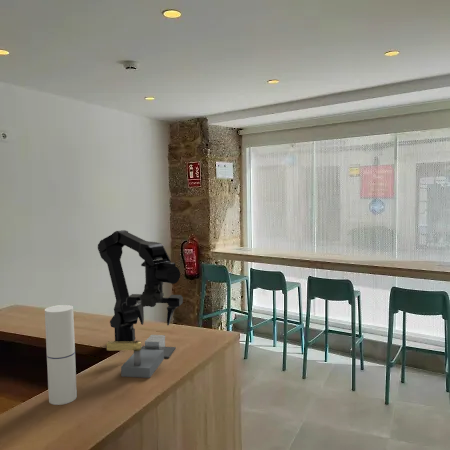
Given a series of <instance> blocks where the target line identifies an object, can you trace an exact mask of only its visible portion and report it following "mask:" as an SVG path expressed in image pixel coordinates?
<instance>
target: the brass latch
mask: <svg viewBox="0 0 450 450" xmlns="http://www.w3.org/2000/svg"><path fill="white" fill-rule="evenodd" d="M141 348H142V341H141V340H134V341H115V340H112V341H111V340H110V341H107V342H106V351H133V352H134V351H139V350H141Z"/></svg>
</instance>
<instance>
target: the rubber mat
mask: <svg viewBox="0 0 450 450" xmlns="http://www.w3.org/2000/svg"><path fill="white" fill-rule="evenodd" d="M141 349H145V345H141ZM175 351H176V346H165V349H164V359H170V357H171V356H172V354H173V353H174V352H175Z"/></svg>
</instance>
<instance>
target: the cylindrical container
mask: <svg viewBox="0 0 450 450" xmlns="http://www.w3.org/2000/svg"><path fill="white" fill-rule="evenodd" d="M74 316H75V315H74V306H73V305H71V304H70V305H69V304H59V305H52V306H47V307H46V308H45V309H44V321H45V322H44V324H45V343H46V344H45V345H46V365H47V367H46V368H47V370H46V371H47V388H48V402H49V404H51V405H54V406H58V405H59V406H61V405H66V404H67V405H68V404H70V403H71V402H73V401H75V400H76V399H77V396H78V395H77V393H78V392H77V372H76V371H77V368H76V347H75V346H76V344H75V343H76V341H75V321H74V318H75V317H74Z"/></svg>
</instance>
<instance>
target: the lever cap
mask: <svg viewBox="0 0 450 450" xmlns="http://www.w3.org/2000/svg"><path fill="white" fill-rule="evenodd" d="M144 346H145V349H151V350H164V349H165V347H166V334H164V335H163V334H150V336H149V337H148V338H146V339H145V340H144Z"/></svg>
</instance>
